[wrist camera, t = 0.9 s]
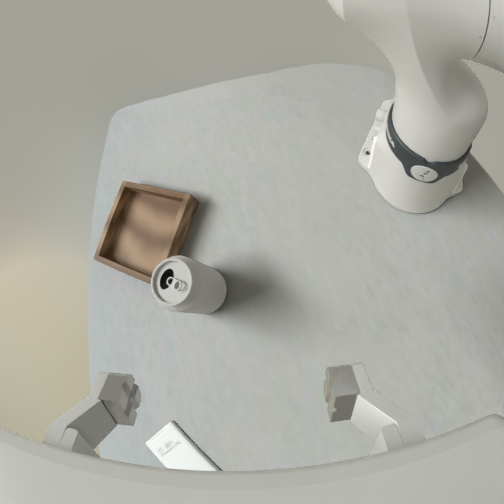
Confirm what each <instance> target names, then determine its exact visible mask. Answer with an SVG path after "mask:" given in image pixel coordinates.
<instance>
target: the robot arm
mask: <svg viewBox="0 0 504 504" xmlns="http://www.w3.org/2000/svg"><path fill="white" fill-rule="evenodd" d="M327 1H328V3H329V4H330V6H331V7H332V9H333V10H334V11H335V13H336V14H337V15H338V16H339V17H340V18H341V19H342V20H343V21H344V22H345V23H346V24H348V25H350V26H351V27H353V28H355V29H357V30H358V31H360V32H361V33H362V34H364V35H365V36H367V37H368V38H369V39H370V40H371V41H372V42H374V43H375V44H376V45H377V46H378V48H379V49H380V50H381V51H382V52H383V53H384V54H385V56H386V57H387V59H388V60H389V62H390V64H391V66H392V68H393V70H394V73H395V79H396V85H395V96H394V98H393V99H390V100H385V101H384V102H383V104H382V106H381V108H378V110H377V114H376V118H375V122H374V124H373V126H372V128H371V130H370V133H369V135H368V137H367V139H366V141H365V144H364V146H363V148H362V150H361V152H360V154H359V157H358V162H359V164H360V165H361V166H362V167H363V168H364V169H365V170H366V171H367V172H368V173H369V174H370V176H371V178H372V180H373V182H374V185H375V187H376V188H377V190H378V191H379V193H380V194H381V195H382V196H383V198H384V199H385V200H386V201H388V202H389V203H390V204H392V205H393V206H395V207H396V208H398V209H400V210H403V211H406V212H410V213H427V212H430V211H433V210H435V209H436V208H438V207H439V206H441V205H442V204H443V203H444V202H445V200H446V199H448V198H449V197H452V196H455V195H457V194H459V193H460V192H461V191H462V189H463V180H462V177H463V175H464V174H465V172H466V170H467V167H468V165H467V164H466V159H467V157H468V154H469V152H470V149H471V146H472V142H473V140H474V139H475V137H476V135H477V134H478V132H479V130H480V129H481V127H482V125H483V124H484V122H485V120H486V117H487V112H488V101H487V96H486V93H485V90H484V88H483V86H482V84H481V82H480V80H479V79H478V77H477V76H476V74H475V73H474V72H473V71H472V69H471V68H470V67H469V66H468V65H467V64H466V63H465V62H463V61H462V60H461V59H467V60H472V61H475V62H478V63H480V64H483V65H485V66H488V67H491V68H493V69H496V70H498V71H500V72H503V73H504V0H327ZM366 153H369V154H370V155H367V154H366ZM325 374H326V378H327V379H326V380H325V381H324V395H325V401H326V402H327V403H328V414H329V418H330V422H335V421H342V420H349V419H350V421H351V422H352V423H353V424H354V425H355V426H356V427H358V428H359V429H360V430H361V431H362V432H363V433H364V434H365V435H366V436H367V437H368V438H369V439H370V440H371V441H372V442H373V443H374V446H373V447H372V449H371V451H370V453H369V455H368V456H365V457H361V458H356V459H351V460H345V461H340V462H334V463H328V464H321V465H314V466H306V467H297V468H287V469H275V470H257V471H201V470H183V469H171V468H161V467H152V466H144V465H137V464H131V463H124V462H119V461H113V460H108V459H103V458H100V456H99V455H98V454H97V453H96V452H95V451H94V450H93V449H94V448H95V447H96V446H97V445H98V444H99V443H100V442H101V441H102V440H103V439H104V438H105V437H106V436H107V435H108V434H109V433H110V432H111V431H112V430H113V429H114V428H115V427H116V426H117V424H121V425H131V426H134V423H135V420H136V416H137V413H136V411H135V410H136V409H137V408H138V407H139V406H140V402H141V393H140V390H139V387H138V386H137V385H135V384H134V381H135V379H134V377H133V375H130V374H120V373H109V372H100V373H99V374H98V376H97V379H96V381H95V383H94V385H93V388H92V390H91V392H90V394H89V397H88V398H84V399H83V400H82V401H80V402H79V403H78V404H76V405H75V406H74V407H72V408H71V409H69V410H68V411H67V412H66V413H64V414H63V415H61V416H60V417H59V418H57V419H56V420H55V421H53V422H52V423H51V425H50V427H49V429H48V432H47V434H46V436H45V438H44V441H43V443H42V442H39V441H36V440H33V439H30V438H28V437H25V436H22V435H19V434H17V433H14V432H12V431H9V430H7V429H4V428H2V427H0V504H504V417H502V416H499V415H497V414H491V415H488V416H486V417H483V418H481V419H479V420H477V421H474V422H472V423H470V424H467V425H465V426H463V427H460V428H458V429H455V430H452V431H450V432H447V433H444V434H442V435H439V436H436V437H433V438H430V439H427V440H426V439H425V437H424V435H423V432H422V430H421V427H420V425H419V422H418V420H417V418H416V417H415V416H414V415H412V414H411V413H409V412H408V411H406V410H405V409H403V408H402V407H400V406H399V405H397V404H396V403H394V402H393V401H392V400H390V399H389V398H387V397H386V396H384V395H383V394H381V393H380V392H379V391H374V390H373V387H372V385H371V382H370V380H369V377H368V374H367V372H366V369H365V367H364V364H363V363H355V364H348V365H341V366H335V367H328V368H327V369H326V373H325Z"/></svg>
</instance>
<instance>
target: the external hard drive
mask: <svg viewBox="0 0 504 504" xmlns="http://www.w3.org/2000/svg"><path fill="white" fill-rule="evenodd" d="M146 445H147V446H148V447H149V448H150V449H151V450H152V452H153V453H154V454H155V455H156V456H157V457H158V459H159V460H160V461H161V462H162V463H163V464H164V465H165V466H166V467H167V468H171V469H183V470H201V471H221V470H219V469H218V468H217V467H216V466H215V465H214V464H213V463H212V462H211V461H210V460H209V459H208V458H207V457H206V456H205V455H204V454H203V453H202V452H201V451H200V450H199V449H198V448H197V447H196V445H195V444H194V443H193V442H192V441H191V440H190V439H189V438H188V437H187V436H186V435H185V434H184V433H183V432H182V430H181V429H180V428H179V427H178V426H177V425H176V424H175V423H174V421H171V422H169V423H168V424H167V425H166V426H165V427H164V428H162V429H161V430H160V431H159V432H158V433H157V434H155V435H154V436H153V437H152V438H151V439H150V440H148V441H147V442H146Z"/></svg>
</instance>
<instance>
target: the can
mask: <svg viewBox="0 0 504 504" xmlns="http://www.w3.org/2000/svg"><path fill="white" fill-rule="evenodd" d="M151 289H152V293H153V295H154V297H155V298H156V300H157V301H158V303H159V304H160V305H161V306H162V307H164V308H165V309H167V310H170V311H172V312H184V313H196V314H209V313H212V312H215V311H216V310H217V309H218V308H220V307H221V305H222V304H223V302H224V300H225V297H226V294H227V286H226V283H225V280H224V278H223V277H222V275H221V274H220V273H219V272H218V271H216V270H215V269H213V268H211V267H208V266H206V265H204V264H202V263H199V262H197V261H195V260H193V259H191V258H188V257H185V256H181V255H179V256H172V257H170V258H168V259H166V260H164V261H162V262H161V263H160V264H158V265H157V267H156V268H155V270H154V271H153V274H152V278H151Z"/></svg>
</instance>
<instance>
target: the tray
mask: <svg viewBox="0 0 504 504" xmlns="http://www.w3.org/2000/svg"><path fill="white" fill-rule="evenodd" d="M198 203H199V202H198V201H197V200H196V199H195V198H194V197H193V196H191V195H190V194H186V193H181V192H176V191H172V190H167V189H162V188H157V187H152V186H147V185H142V184H137V183H132V182H127V181H123V183H122V185H121V187H120V190H119V192H118V194H117V197H116V199H115V202H114V204H113V207H112V209H111V212H110V214H109V217H108V220H107V222H106V225H105V228H104V230H103V233H102V236H101V239H100V242H99V245H98V247H97V250H96V253H95V256H94V260H97V261H99V262H101V263H103V264H105V265H108V266H110V267H112V268H114V269H117V270H119V271H121V272H124V273H126V274H128V275H130V276H133V277H135V278H137V279H140V280H142V281H145V282H147V283H149V284H151V278H152V274H153V271H154V270H155V268H156V267H157V265H158V264H160V263H161V262H162V261H164V260H166V259H168V258H170V257H172V256H179V255H180V252H181V249H182V246H183V243H184V241H185V238H186V235H187V232H188V230H189V227H190V224H191V221H192V219H193V216H194V213H195V211H196V208H197V206H198Z"/></svg>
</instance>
